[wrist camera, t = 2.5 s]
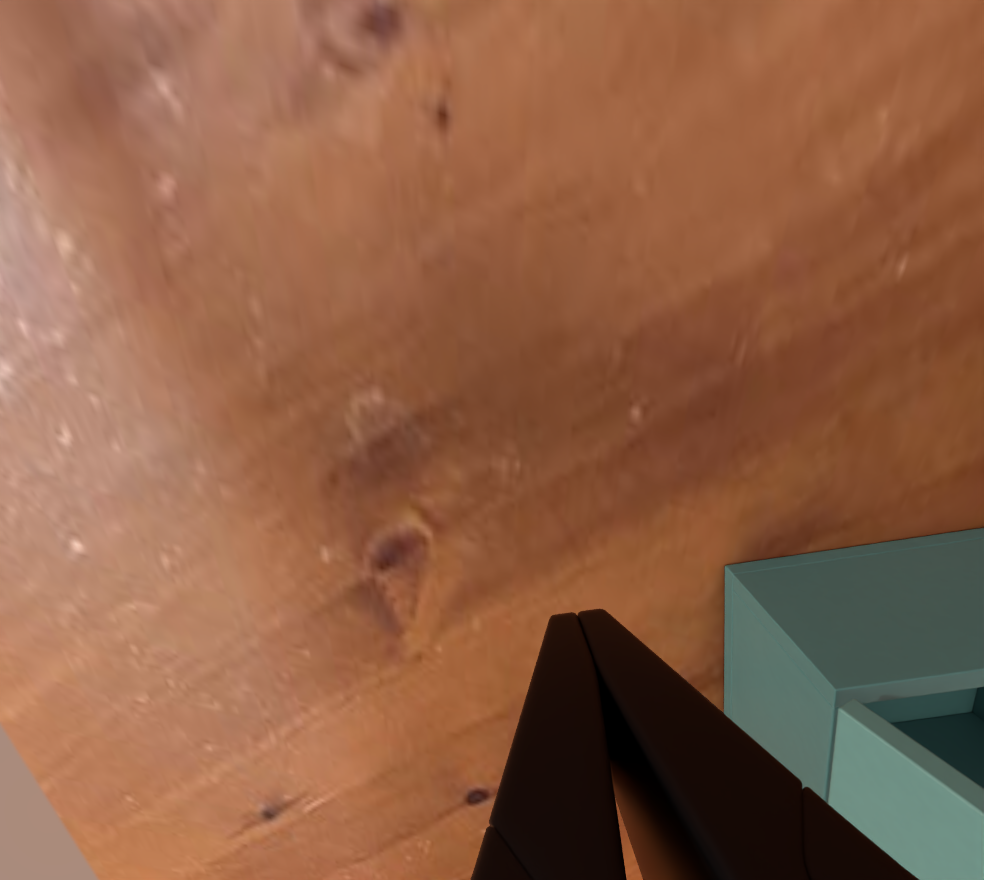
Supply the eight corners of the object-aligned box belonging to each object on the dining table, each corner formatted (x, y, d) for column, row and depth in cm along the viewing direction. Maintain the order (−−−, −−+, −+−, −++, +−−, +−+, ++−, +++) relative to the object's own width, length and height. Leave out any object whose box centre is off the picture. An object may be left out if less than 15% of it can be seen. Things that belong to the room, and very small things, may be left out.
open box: (1011, 522, 22) (1257, 631, 15) (969, 708, 25) (1152, 864, 19) (724, 564, 22) (835, 690, 15) (723, 741, 26) (812, 908, 19)
